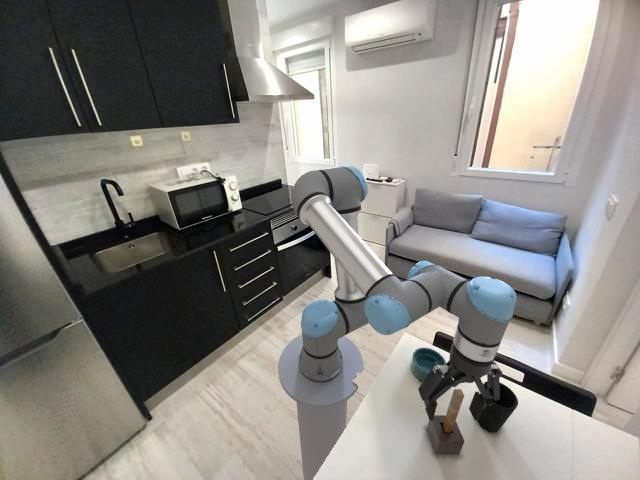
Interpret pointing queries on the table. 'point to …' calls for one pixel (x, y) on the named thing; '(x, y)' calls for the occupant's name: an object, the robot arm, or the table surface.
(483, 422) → the cup
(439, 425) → the holder
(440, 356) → the bowl
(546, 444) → the table surface
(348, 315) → the robot arm
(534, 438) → the table surface
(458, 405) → the stick
